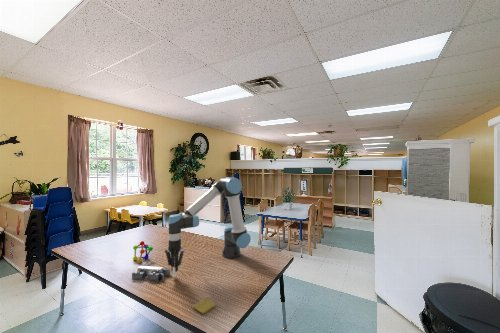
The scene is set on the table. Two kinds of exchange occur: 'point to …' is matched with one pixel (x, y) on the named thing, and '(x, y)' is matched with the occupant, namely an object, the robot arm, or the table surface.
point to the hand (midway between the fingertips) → (174, 276)
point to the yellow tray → (204, 305)
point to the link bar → (150, 270)
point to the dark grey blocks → (151, 275)
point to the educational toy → (142, 252)
